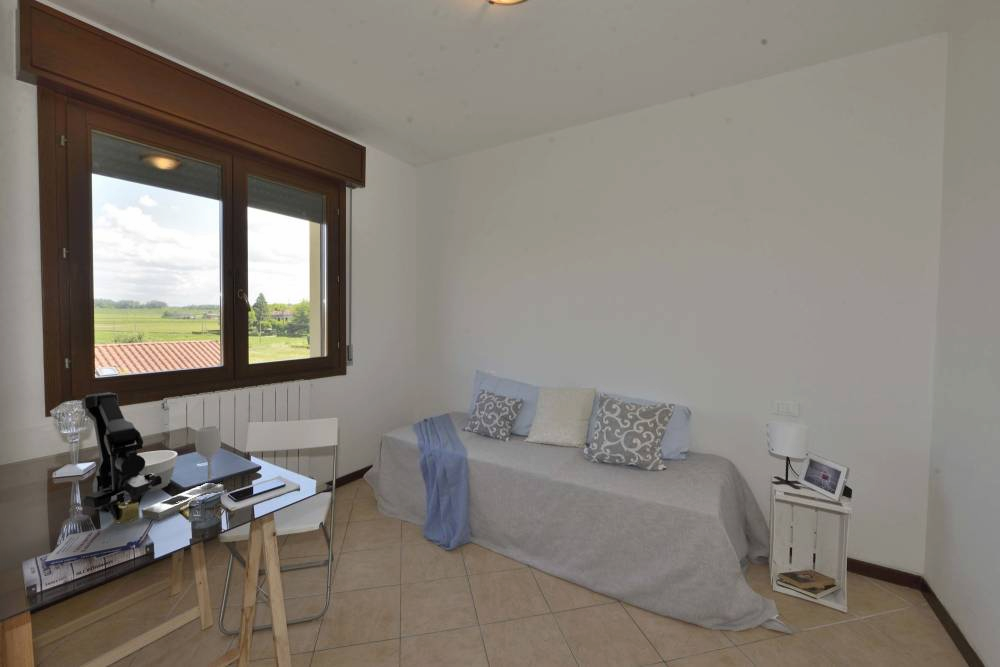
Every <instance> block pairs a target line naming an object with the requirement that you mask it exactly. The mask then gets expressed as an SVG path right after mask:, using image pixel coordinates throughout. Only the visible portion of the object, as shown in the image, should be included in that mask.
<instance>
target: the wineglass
mask: <svg viewBox="0 0 1000 667" xmlns="http://www.w3.org/2000/svg"><path fill="white" fill-rule="evenodd" d="M195 432H196V433H195V439H194V446H195V451H196V452H197V453H198V455H200V456H202V457H204V458H206V460H207V477H206V478H207V479H210V478H213V477H214V476H213V474H212V458H213V457H214V456H215V455H216V454H218V452H219V450H220V449H221V446H222V437H221V431H220V429H219V426H217V425H207V426H201V427H199V428H197V429H196V431H195Z"/></svg>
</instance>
